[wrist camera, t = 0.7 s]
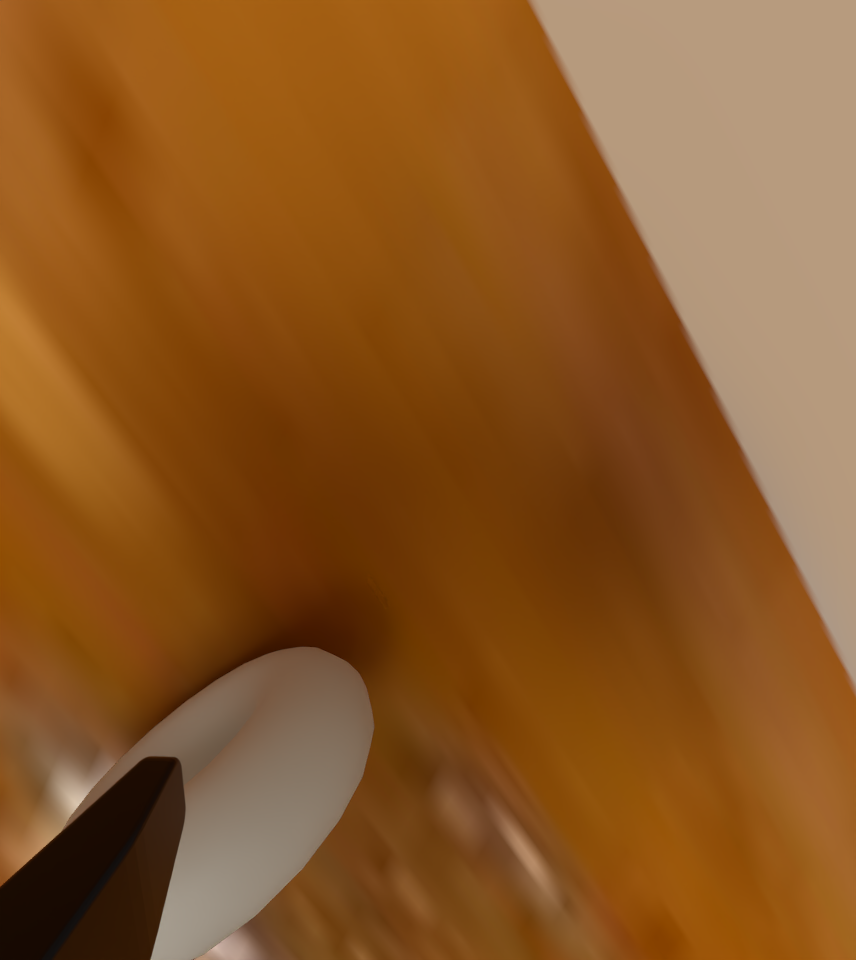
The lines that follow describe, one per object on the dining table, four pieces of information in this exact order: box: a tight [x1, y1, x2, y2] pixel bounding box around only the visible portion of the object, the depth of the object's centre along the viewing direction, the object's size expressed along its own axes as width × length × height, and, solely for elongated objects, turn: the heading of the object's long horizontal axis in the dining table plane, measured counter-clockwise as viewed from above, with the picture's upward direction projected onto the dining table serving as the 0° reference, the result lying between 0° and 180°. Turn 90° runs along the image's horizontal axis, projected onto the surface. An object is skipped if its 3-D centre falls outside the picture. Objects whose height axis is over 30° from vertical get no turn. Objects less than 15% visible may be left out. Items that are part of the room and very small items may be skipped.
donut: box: [62, 647, 374, 960], centre depth 20 cm, size 10×4×10 cm, turn 123°
